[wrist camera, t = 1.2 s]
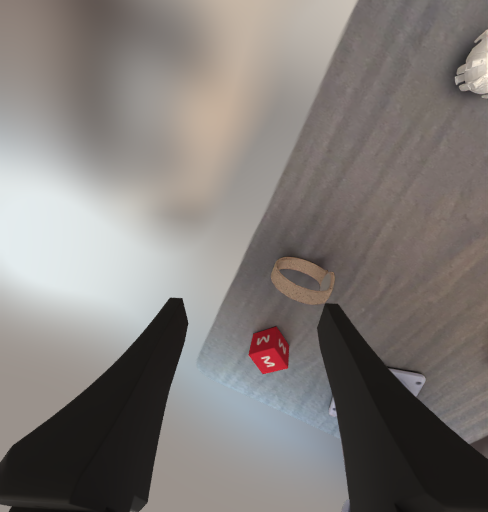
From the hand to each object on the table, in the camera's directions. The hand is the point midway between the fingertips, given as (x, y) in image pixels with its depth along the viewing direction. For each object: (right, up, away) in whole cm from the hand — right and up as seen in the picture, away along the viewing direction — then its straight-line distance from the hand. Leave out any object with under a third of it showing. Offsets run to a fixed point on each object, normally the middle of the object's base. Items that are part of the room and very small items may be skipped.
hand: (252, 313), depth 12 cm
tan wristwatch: (+5, +2, +10) cm, 11 cm away
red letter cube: (+3, -6, +14) cm, 16 cm away
